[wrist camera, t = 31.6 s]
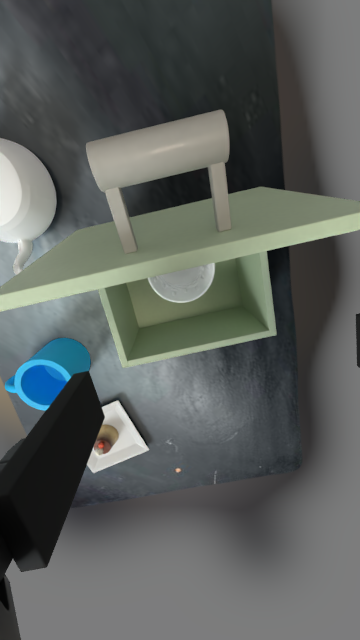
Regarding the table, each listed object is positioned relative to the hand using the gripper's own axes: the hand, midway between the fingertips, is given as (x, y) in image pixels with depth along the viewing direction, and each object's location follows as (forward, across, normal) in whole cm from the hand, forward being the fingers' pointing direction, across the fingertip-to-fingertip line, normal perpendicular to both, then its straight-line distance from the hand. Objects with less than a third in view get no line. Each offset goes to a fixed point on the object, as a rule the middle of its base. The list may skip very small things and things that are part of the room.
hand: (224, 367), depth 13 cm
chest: (+30, -1, +1) cm, 30 cm away
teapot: (+30, -21, +16) cm, 40 cm away
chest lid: (+9, -1, +7) cm, 11 cm away
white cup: (+29, -1, +3) cm, 29 cm away
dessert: (+30, -21, -25) cm, 44 cm away
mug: (+30, -25, -9) cm, 40 cm away
